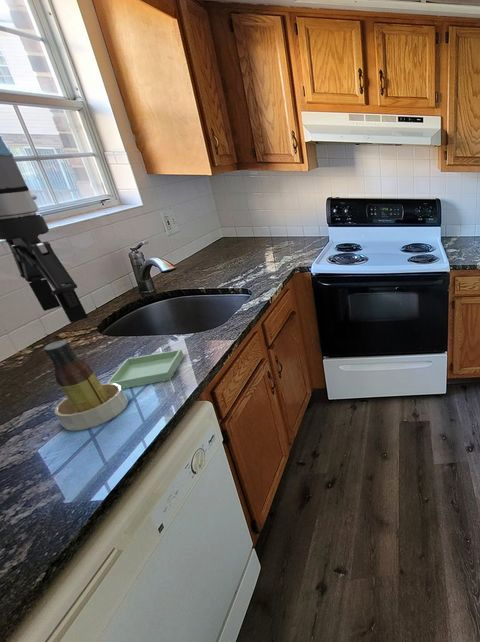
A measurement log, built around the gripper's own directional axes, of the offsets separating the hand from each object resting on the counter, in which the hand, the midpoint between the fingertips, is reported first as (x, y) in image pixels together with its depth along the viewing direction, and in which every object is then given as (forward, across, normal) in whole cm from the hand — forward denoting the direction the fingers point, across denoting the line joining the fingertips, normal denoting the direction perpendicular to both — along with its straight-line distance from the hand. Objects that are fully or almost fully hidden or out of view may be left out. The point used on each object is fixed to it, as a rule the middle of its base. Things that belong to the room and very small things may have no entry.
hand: (65, 313), depth 79 cm
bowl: (+28, +5, +2) cm, 28 cm away
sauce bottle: (+28, +5, +2) cm, 28 cm away
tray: (+28, +12, -13) cm, 33 cm away
